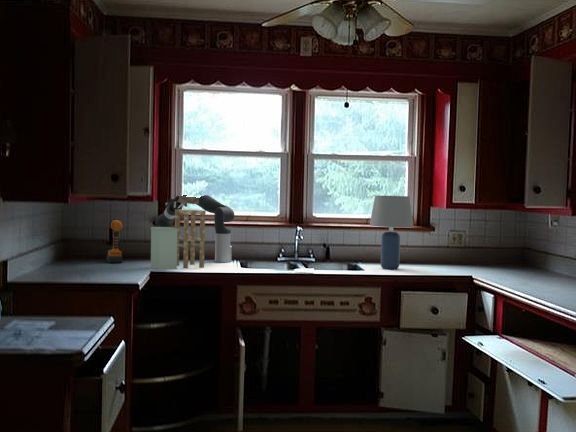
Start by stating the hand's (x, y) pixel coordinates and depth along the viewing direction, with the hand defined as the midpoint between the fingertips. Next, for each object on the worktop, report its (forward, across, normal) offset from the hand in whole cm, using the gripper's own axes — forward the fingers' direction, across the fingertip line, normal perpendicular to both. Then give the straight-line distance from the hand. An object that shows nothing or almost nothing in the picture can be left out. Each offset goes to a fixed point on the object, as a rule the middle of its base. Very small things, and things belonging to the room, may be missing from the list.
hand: (181, 197), depth 339 cm
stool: (-8, 0, -40) cm, 41 cm away
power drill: (-39, +33, -23) cm, 56 cm away
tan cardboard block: (+5, 0, -7) cm, 8 cm away
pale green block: (-8, +15, -40) cm, 44 cm away
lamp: (+36, -105, -66) cm, 129 cm away
